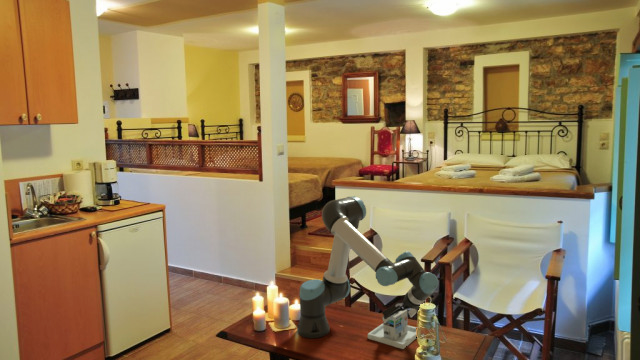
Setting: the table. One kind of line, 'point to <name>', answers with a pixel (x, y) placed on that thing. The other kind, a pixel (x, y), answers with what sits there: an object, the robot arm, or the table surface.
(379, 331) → the tray
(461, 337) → the table surface
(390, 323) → the light bulb box
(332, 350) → the table surface
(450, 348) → the table surface
